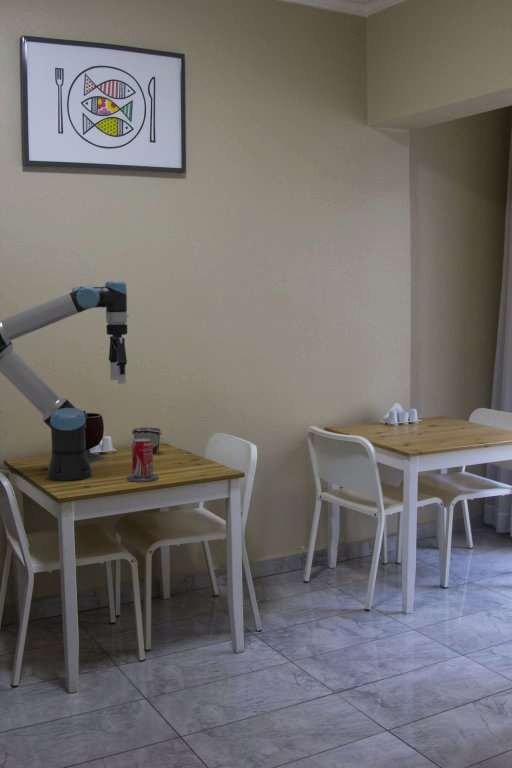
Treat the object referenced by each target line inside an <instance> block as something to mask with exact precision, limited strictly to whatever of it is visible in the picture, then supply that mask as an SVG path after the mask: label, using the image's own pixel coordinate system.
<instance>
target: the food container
mask: <svg viewBox="0 0 512 768" xmlns="http://www.w3.org/2000/svg"><path fill="white" fill-rule="evenodd" d="M131 434H132V435H133V439H137V438H149V439H151V442H152V448H153V454H154V455H153V456H155V455H156V456H159V453H160V451H159V450H160V441H161V436H162V430H161V428H159V427H151V426H150V427H138V428H137V427H136V428H133V430H132V433H131Z"/></svg>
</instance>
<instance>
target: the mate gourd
mask: <svg viewBox="0 0 512 768" xmlns="http://www.w3.org/2000/svg"><path fill="white" fill-rule="evenodd" d="M82 411H83V412H84V414H85V419H86V428H85V444H86V456H87V459H88V462H95V461H100V460H102V459H103V455H101V454H96V453H91V449H93V448H95V447H97V446H99V445H100V444H101V442H102V441H103V438H104V431H105V430H104V428H105V427H104V425H105V424H104V419H103V414H102V413H98V412H86V410H82Z"/></svg>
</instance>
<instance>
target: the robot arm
mask: <svg viewBox="0 0 512 768" xmlns="http://www.w3.org/2000/svg"><path fill="white" fill-rule="evenodd" d="M127 298H128V295H127V283H125V281H120V280H118V281H117V280H116V281H115V280H112V281H111V280H110V281H105V285H104V286H91V285H86V286H74V287H72V289H71V292H68V293H66V294H63V295H61V296H59V297H56V298H54V299H52V300H49V301H46V302H45V303H41V304H39V305H37V306H34V307H32V308H28V309H27V310H24V311H22V312H19V313H16V314H14V315H11V316H8V317H7V318H4V319H2V320H0V373H1V374H2V375H3V376H4V377H5V378H6V379H7V380H8V381H9V382H10V383H11V384H12V386H14V387H15V388H16V389H17V390H18V392H20V394H22V395H23V397H25V398H26V400H28V402H30V403H31V405H32V406H34V408H36V410H38V411H39V412H40V413H41V415H42V421H43V423H45V425H47V426H48V427H49V428H50V432H51V433H50V434H51V435H50V436H51V458H50V460H49V461H50V462H49V464H48V468H47V471H46V472H47V474H46V475H47V477H46V478H47V479H48V480H51V481H53V480H54V481H78V480H83V479H87V478H90V477H91V476H92V468H91V465H90V461H88V459H87V456H86V444H85V428H86V419H85V414H84V412H83V411H84V410H82V409H80V408H78V407H75V405H74V404H73V403H72V402H70V401H69V399H68V398H66V397H65V398H63V397H60V396H59V395H57V394H56V392H55V391H54V390H53V389H52V388H51V387H50V386H49V385H48V384H47V383H46V382H45V381H44V380H43V379H42V378H41V377H40V376H39V375H38V374H37V373H36V372H35V371H34V370H33V369H32V368H31V367H30V366H29V365H28V364H27V363H26V362H25V360H23V359H22V357H20V355H18V354H17V352H16V351H15V350H14V349H13V348H14V343H13V342H11V341H14V340H16V339H19V338H21V337H23V336H25V335H28V334H31V333H33V332H35V331H39V330H40V329H43V328H46V327H47V326H50V325H52V324H56V323H57V322H60V321H62V320H64V319H66V318H67V319H68V318H70V317H73V316H74V315H77V314H79V313H82V312H84V311H87V310H92V309H93V308H95V309H96V308H97V309H98V308H103V309H104V308H105V321H106V323H107V324H106V325H105V327H106V335H108V336H110V337H109V351H108V352H109V353H108V361H109V370H110V371H109V373H110V381H117V384H119V385H121V384H127V377H126V375H127V374H126V371H127V370H126V365H127V363H128V360H127V353H126V345H125V343H126V342H125V337H123V335H124V336H125V335H127V334H128V325H127V324H126V323H128V317H129V314H127V313H128V310H127V308H128V301H127V300H128V299H127Z"/></svg>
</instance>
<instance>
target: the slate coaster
mask: <svg viewBox="0 0 512 768" xmlns="http://www.w3.org/2000/svg"><path fill="white" fill-rule="evenodd" d="M157 480H159V475H158V474H156V473H153V474H152V476H151V477H148V478H136V477H134V476H133V474H128V475H127V476H126V481H128V482H131V483H132V482H133V483H149V482H155V481H157Z"/></svg>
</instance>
